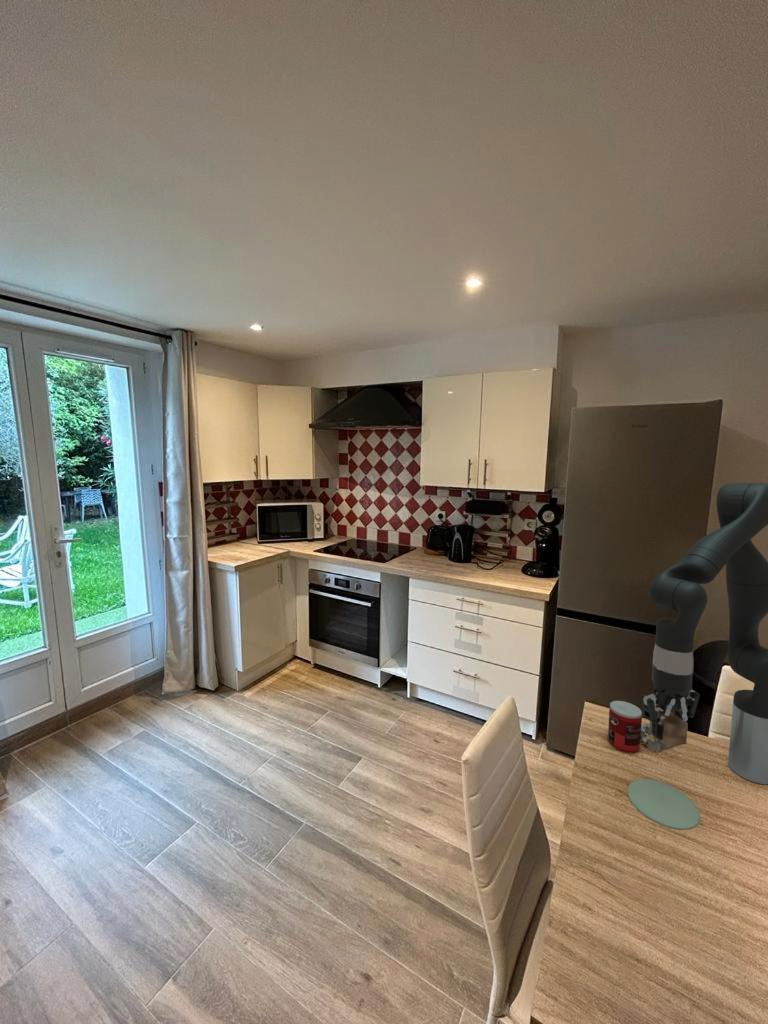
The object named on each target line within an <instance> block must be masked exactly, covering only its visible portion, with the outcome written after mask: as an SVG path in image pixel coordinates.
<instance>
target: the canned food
mask: <svg viewBox="0 0 768 1024" xmlns="http://www.w3.org/2000/svg"><path fill="white" fill-rule="evenodd" d="M642 721H643V710H641V709H640V708H639V707H638V706H637V705H634V704H632V703H630V702H628V701H624V700H613V701H611V702H610V703H609V710H608V729H607V731H608V732H607V738H608V742H609V744H610V743H611V744H610V746H612V747H613V748H615V749H616V750H618V751H620V752H623V753H626V752H627V754H634V753H638V752H639V751H640V747H641V744H640V739H641V726H642V725H643V724H642Z"/></svg>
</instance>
